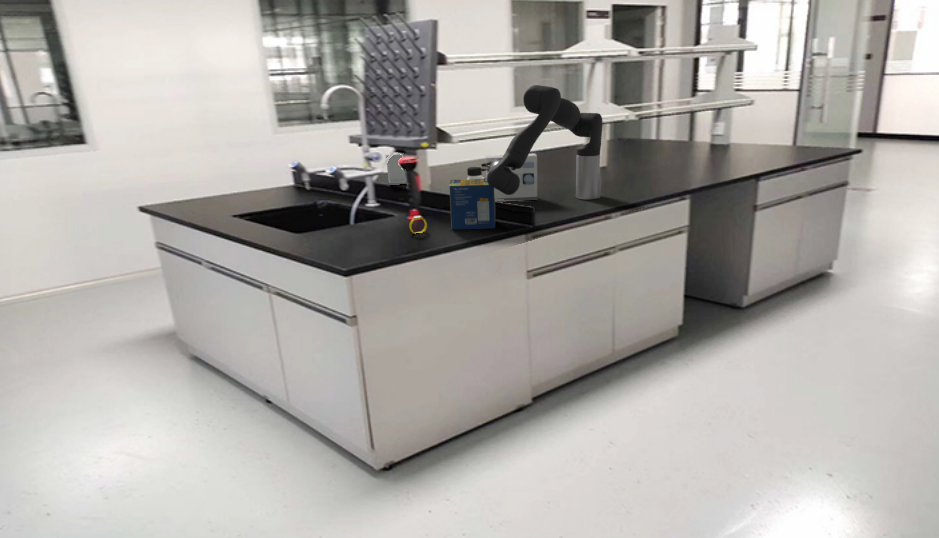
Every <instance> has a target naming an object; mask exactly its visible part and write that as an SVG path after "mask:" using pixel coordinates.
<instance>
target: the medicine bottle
mask: <svg viewBox="0 0 939 538" xmlns="http://www.w3.org/2000/svg"><path fill="white" fill-rule="evenodd" d="M482 173H483V171H482V170H481V167H480V166H478V165H477V166H476V165H475V166H470V167H468V168H467V178H466V179H486V177H484V176H483V174H482Z"/></svg>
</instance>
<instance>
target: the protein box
mask: <svg viewBox="0 0 939 538" xmlns="http://www.w3.org/2000/svg"><path fill="white" fill-rule="evenodd" d="M449 182H450V183H449V185H448V186H449V187H448V189H449V203H450V204H449V206H450V223H451V230H452V229H457V230H483V229H485V230H486V229H495V228H496V203H495V196H494V187H492V186H490V185H489V184H488V182H487V179H486V178H485V179H467V178H466V179H465V178H464V179H451V180H450V181H449Z"/></svg>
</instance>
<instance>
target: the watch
mask: <svg viewBox="0 0 939 538" xmlns="http://www.w3.org/2000/svg"><path fill="white" fill-rule="evenodd" d="M412 217H413V218H412V219H411V220H410V222H409V227H408V228H409V230H410V232H412V234H414V235H417V234H416V233H420V234H424V233H425V232H426V230H427V228H428V224H427V220H426V219H425V218H423V217H422V215H414V216H412ZM417 220H422V221H423V222H424V225H423V229H422V230H421V231H416V232H415V231H414V230H413V229H412V228H413V224H414V222H415V221H417ZM423 232H424V233H423Z"/></svg>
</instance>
